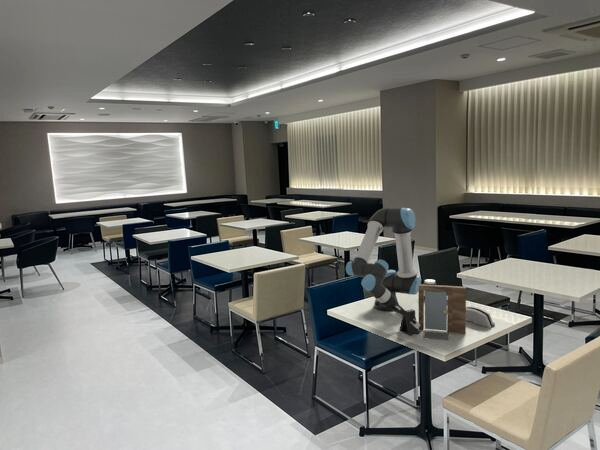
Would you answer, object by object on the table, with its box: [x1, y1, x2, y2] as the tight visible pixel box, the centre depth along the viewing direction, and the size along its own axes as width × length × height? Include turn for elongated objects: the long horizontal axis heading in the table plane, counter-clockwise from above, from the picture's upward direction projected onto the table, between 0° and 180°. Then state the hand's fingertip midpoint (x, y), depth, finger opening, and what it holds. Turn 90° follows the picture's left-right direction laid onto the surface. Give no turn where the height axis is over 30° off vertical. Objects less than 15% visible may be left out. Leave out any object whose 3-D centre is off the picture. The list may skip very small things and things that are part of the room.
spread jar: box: [423, 278, 437, 299], centre depth 292 cm, size 12×11×12 cm
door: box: [424, 290, 447, 332], centre depth 234 cm, size 11×3×21 cm, turn 70°
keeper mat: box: [423, 330, 450, 341], centre depth 229 cm, size 9×12×1 cm
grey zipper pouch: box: [466, 305, 496, 328], centre depth 245 cm, size 17×5×10 cm, turn 30°
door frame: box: [418, 283, 467, 335], centre depth 234 cm, size 2×24×24 cm, turn 70°
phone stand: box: [398, 308, 420, 337], centre depth 235 cm, size 9×6×12 cm, turn 25°
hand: (412, 322), depth 235 cm, fingers open, 13 cm apart
